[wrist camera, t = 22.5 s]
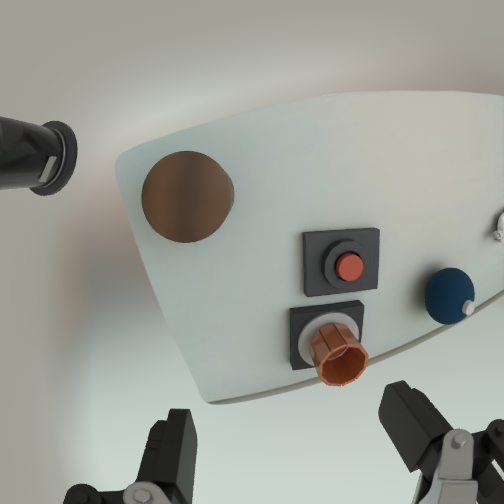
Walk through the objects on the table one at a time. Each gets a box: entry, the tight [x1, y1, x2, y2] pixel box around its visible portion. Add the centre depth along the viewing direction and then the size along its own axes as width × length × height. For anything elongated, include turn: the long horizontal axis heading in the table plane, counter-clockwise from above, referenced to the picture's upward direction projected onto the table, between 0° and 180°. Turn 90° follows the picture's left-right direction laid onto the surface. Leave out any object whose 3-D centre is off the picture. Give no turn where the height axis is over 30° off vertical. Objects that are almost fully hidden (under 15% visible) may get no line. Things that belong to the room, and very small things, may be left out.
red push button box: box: [303, 228, 380, 297], centre depth 34 cm, size 10×8×3 cm
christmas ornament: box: [424, 268, 475, 325], centre depth 32 cm, size 8×8×10 cm
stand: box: [142, 151, 234, 243], centre depth 28 cm, size 8×8×10 cm
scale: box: [290, 300, 364, 370], centre depth 36 cm, size 10×9×3 cm
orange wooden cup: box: [309, 323, 368, 386], centre depth 32 cm, size 6×6×6 cm
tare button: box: [336, 253, 363, 281], centre depth 32 cm, size 3×3×1 cm
